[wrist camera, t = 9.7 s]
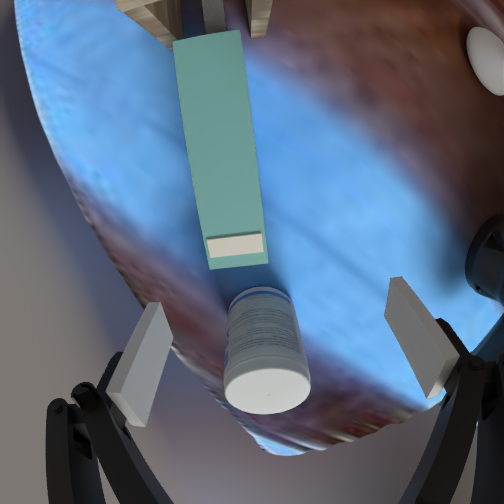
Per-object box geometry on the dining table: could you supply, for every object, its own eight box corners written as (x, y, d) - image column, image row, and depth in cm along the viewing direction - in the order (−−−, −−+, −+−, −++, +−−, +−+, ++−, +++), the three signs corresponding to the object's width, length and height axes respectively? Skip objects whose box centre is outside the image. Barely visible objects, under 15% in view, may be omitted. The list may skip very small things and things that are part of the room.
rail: (219, -23, 20) (219, -24, 20) (251, 219, 34) (251, 220, 34) (199, -20, 20) (199, -21, 20) (232, 221, 34) (232, 222, 34)
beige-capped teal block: (242, 60, 25) (239, 28, 15) (262, 219, 34) (268, 264, 23) (197, 67, 25) (171, 41, 15) (221, 224, 34) (209, 270, 24)
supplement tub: (215, 302, 39) (203, 385, 26) (273, 271, 37) (285, 352, 24) (252, 343, 43) (253, 422, 30) (305, 318, 41) (325, 398, 28)
